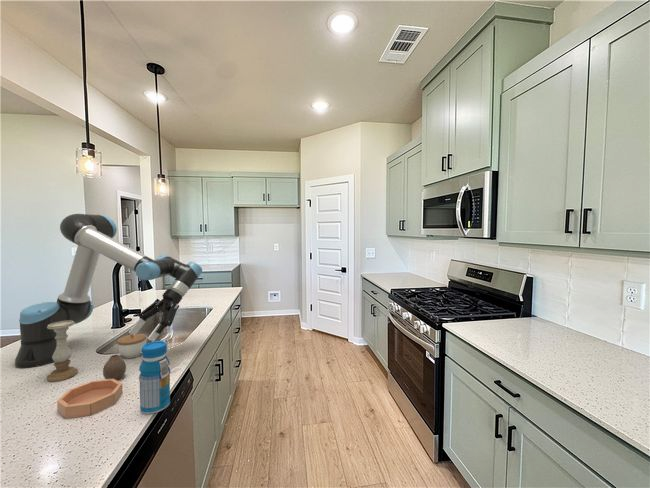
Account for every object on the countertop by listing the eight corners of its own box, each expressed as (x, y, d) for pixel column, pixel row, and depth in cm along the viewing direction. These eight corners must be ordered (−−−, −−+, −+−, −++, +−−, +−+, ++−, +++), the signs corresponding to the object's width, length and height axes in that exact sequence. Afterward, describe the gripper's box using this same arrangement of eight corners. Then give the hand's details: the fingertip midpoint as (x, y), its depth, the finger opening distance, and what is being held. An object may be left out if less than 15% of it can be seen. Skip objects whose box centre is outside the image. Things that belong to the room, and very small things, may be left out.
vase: (108, 385, 101) (107, 361, 101) (99, 380, 105) (99, 356, 104) (129, 377, 107) (129, 354, 106) (121, 372, 110) (120, 350, 110)
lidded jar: (132, 361, 119) (131, 340, 119) (111, 359, 122) (110, 337, 121) (152, 351, 130) (152, 331, 129) (132, 349, 132) (132, 329, 132)
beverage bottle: (140, 419, 83) (139, 352, 82) (138, 404, 90) (137, 343, 89) (172, 408, 88) (171, 346, 87) (168, 395, 95) (167, 337, 94)
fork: (141, 388, 101) (141, 383, 101) (185, 362, 120) (185, 358, 120) (148, 389, 100) (148, 384, 100) (191, 363, 119) (191, 359, 119)
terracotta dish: (51, 407, 88) (51, 396, 88) (107, 384, 101) (107, 375, 101) (72, 423, 81) (71, 411, 81) (129, 397, 94) (129, 387, 94)
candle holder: (39, 381, 103) (37, 327, 102) (62, 370, 112) (61, 319, 111) (62, 382, 103) (60, 327, 102) (84, 370, 111) (82, 320, 110)
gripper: (199, 301, 121) (165, 347, 109) (164, 294, 134) (131, 335, 121) (187, 291, 117) (151, 338, 104) (153, 285, 129) (116, 327, 116)
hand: (140, 337), depth 113 cm, fingers open, 13 cm apart
